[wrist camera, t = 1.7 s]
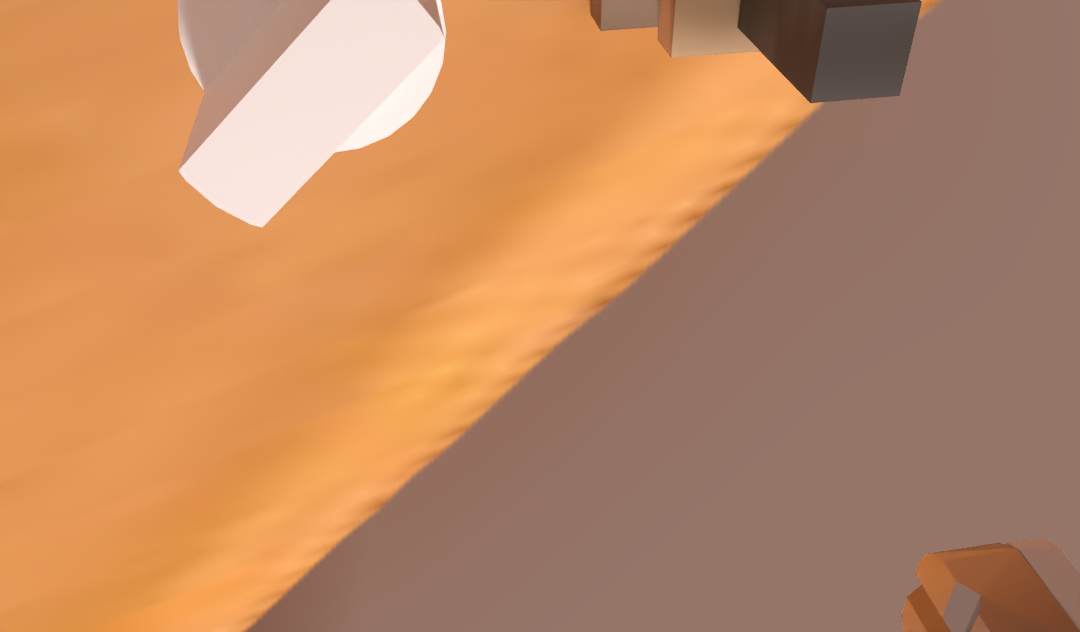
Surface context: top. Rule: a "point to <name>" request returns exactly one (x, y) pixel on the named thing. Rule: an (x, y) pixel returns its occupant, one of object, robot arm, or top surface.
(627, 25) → the rail board
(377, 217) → the top surface
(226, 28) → the base with upright slab
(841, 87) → the carriage
